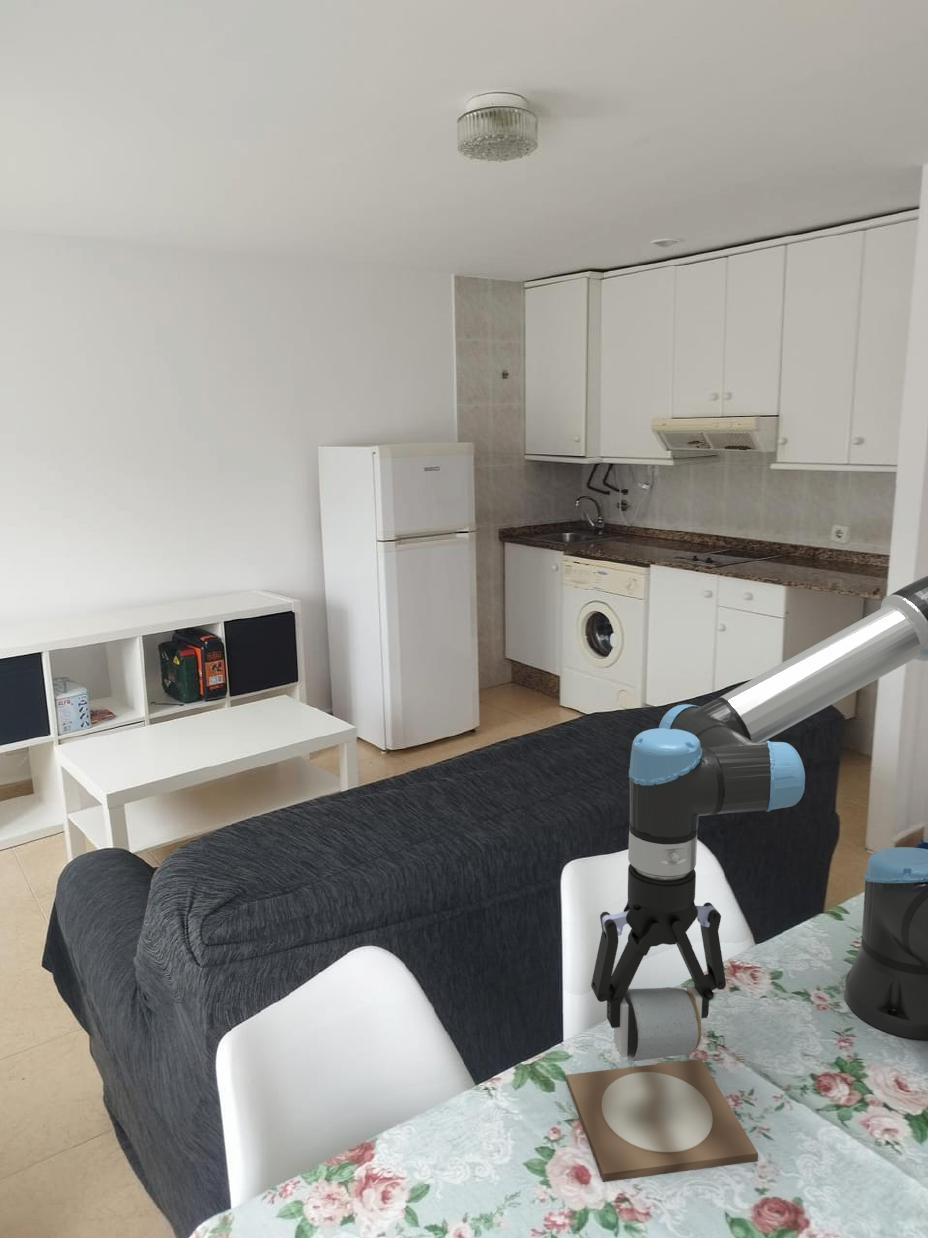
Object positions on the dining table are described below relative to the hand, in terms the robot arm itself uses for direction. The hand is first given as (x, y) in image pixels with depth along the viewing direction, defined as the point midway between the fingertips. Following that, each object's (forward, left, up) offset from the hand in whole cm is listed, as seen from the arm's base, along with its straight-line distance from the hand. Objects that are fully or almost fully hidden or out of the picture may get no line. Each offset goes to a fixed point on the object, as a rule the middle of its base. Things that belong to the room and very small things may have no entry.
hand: (656, 1045), depth 105 cm
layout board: (0, 0, -10) cm, 10 cm away
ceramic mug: (0, -1, -1) cm, 1 cm away
